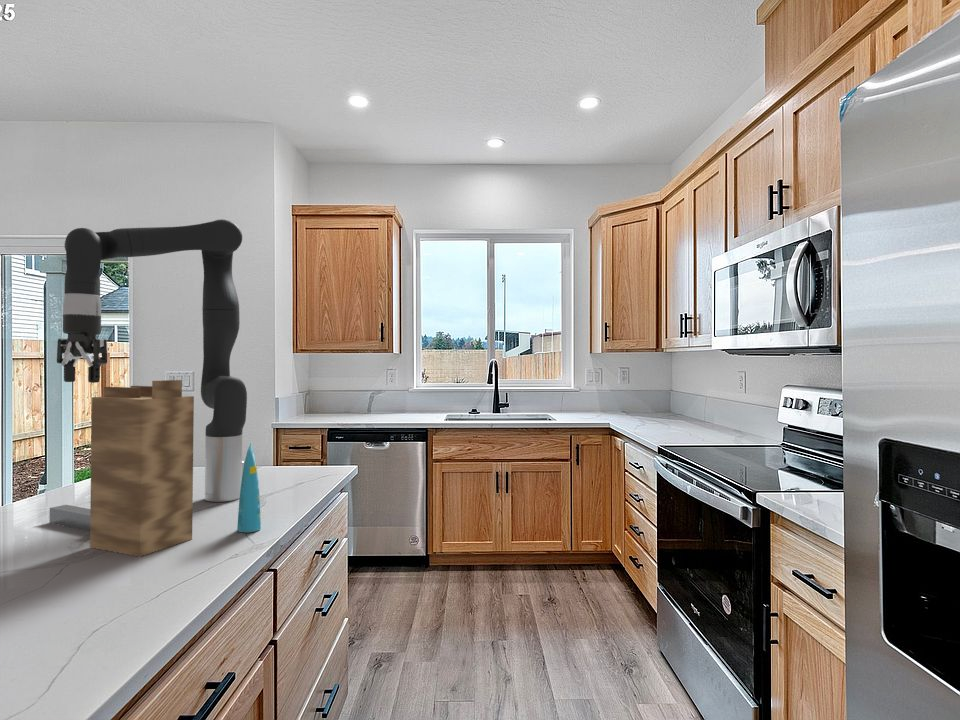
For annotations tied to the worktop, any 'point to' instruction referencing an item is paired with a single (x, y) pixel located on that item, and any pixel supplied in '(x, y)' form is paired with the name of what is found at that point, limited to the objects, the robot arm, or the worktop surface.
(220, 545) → the worktop surface
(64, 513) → the grey long block
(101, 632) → the worktop surface
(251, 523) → the tube
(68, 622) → the worktop surface
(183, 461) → the post
